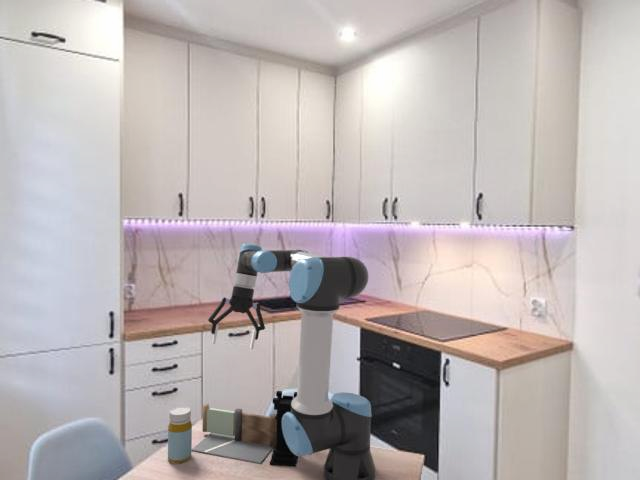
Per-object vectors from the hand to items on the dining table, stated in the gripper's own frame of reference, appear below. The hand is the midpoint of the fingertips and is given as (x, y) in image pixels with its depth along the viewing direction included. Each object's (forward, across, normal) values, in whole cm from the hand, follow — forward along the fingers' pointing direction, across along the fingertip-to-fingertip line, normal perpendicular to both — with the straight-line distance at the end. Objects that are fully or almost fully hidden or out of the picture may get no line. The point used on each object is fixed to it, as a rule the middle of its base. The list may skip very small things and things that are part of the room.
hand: (232, 346), depth 158 cm
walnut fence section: (+28, -12, +11) cm, 33 cm away
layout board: (+30, -6, +10) cm, 32 cm away
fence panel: (+29, 0, +3) cm, 29 cm away
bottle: (+34, +12, +13) cm, 38 cm away
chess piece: (+29, -19, +23) cm, 42 cm away
